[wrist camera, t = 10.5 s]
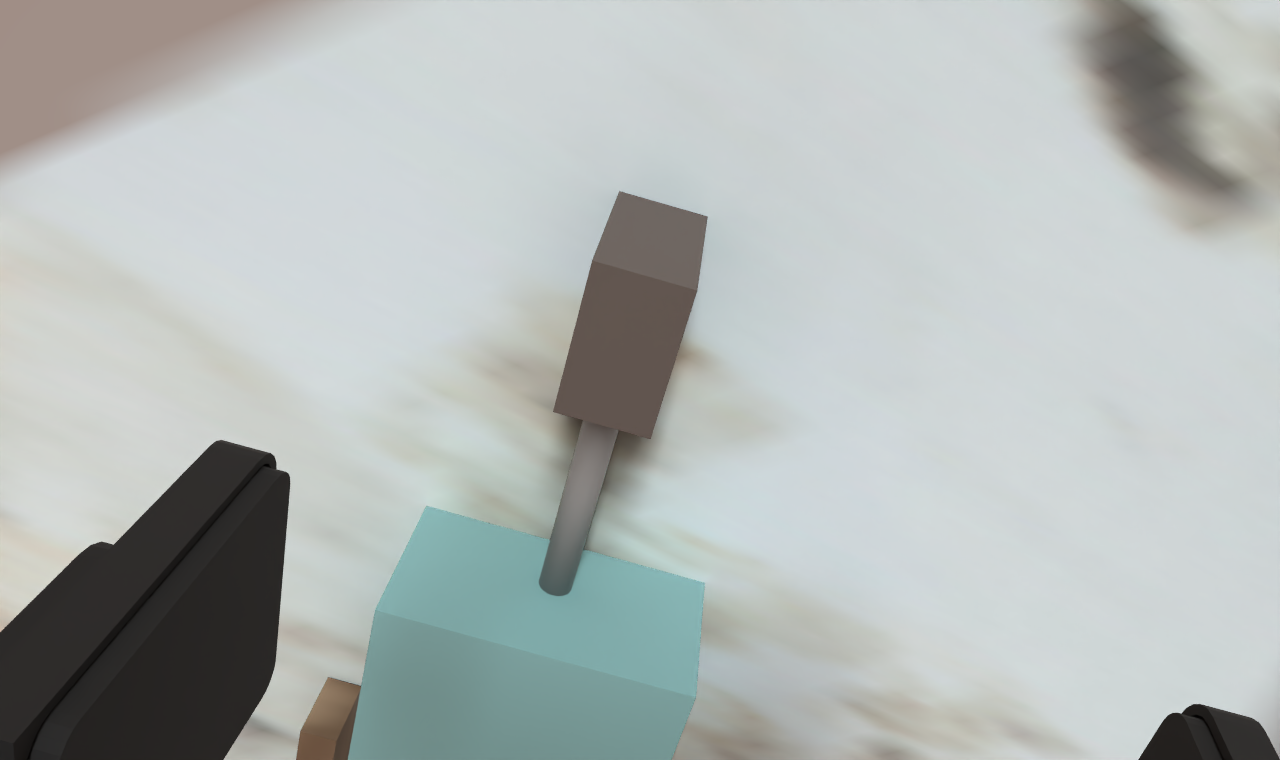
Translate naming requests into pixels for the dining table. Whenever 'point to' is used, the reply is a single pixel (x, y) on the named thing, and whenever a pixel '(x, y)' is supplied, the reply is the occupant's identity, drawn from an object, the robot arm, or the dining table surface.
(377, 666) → the teal block
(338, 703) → the frame
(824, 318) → the dining table surface
